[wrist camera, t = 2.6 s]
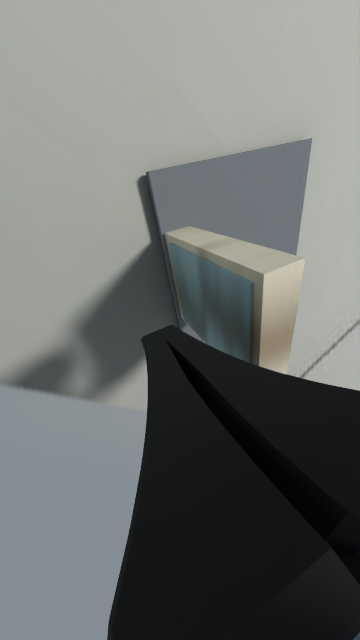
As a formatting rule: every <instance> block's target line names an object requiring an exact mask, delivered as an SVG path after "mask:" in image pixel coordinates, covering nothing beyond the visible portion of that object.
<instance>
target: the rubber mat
mask: <svg viewBox="0 0 360 640" xmlns="http://www.w3.org/2000/svg"><path fill="white" fill-rule="evenodd" d="M311 143H312V138H311V139H306V140H301V141H296V142H291V143H286V144H282V145H277V146H272V147H267V148H262V149H257V150H252V151H247V152H242V153H237V154H233V155H228V156H223V157H218V158H213V159H208V160H203V161H198V162H193V163H189V164H184V165H179V166H174V167H169V168H164V169H159V170H154V171H149V172H146V174H147V179H148V183H149V188H150V193H151V197H152V202H153V207H154V211H155V216H156V221H157V225H158V230H159V235H160V239H161V244H162V248H163V253H164V258H165V262H166V267H167V272H168V276H169V281H170V286H171V290H172V295H173V300H174V304H175V309H176V314H177V318H178V323H179V328H180V330H182V331H183V332H185V333H187V334H189V335H190V336H192V337H194V338H196V339H198V340H200V341H203V340H202V339H201V338H200V337H199V336H198V335H197V334H196V333H195V332H194V330H193V329H192V328H191V327H190V326H189V325H188V324H187V323H186V322H185V321H184V320H183V319H182V317H181V312H180V307H179V302H178V297H177V292H176V287H175V282H174V277H173V272H172V267H171V262H170V257H169V252H168V247H167V242H166V237H165V233H167V232H170V231H174V230H177V229H181V228H184V227H187V226H191V227H195V228H198V229H202V230H206V231H209V232H213V233H216V234H220V235H224V236H227V237H231V238H235V239H238V240H242V241H245V242H249V243H253V244H256V245H260V246H264V247H267V248H271V249H274V250H278V251H282V252H285V253H289V254H293V255H296V253H297V246H298V238H299V231H300V224H301V216H302V209H303V202H304V194H305V187H306V180H307V172H308V165H309V158H310V150H311Z"/></svg>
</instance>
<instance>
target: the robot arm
mask: <svg viewBox="0 0 360 640" xmlns="http://www.w3.org/2000/svg"><path fill="white" fill-rule="evenodd" d="M141 341H142V344H143V347H144V350H145V354H146V361H147V373H148V407H147V422H146V423H147V424H146V433H145V442H144V450H143V458H142V465H141V471H140V476H139V482H138V488H137V493H136V498H135V504H134V509H133V515H132V520H131V525H130V530H129V535H128V540H127V544H126V548H125V553H124V557H123V561H122V565H121V570H120V574H119V579H118V583H117V587H116V592H115V596H114V600H113V605H112V609H111V614H110V619H109V626H108V639H107V640H360V391H358V390H352V389H347V388H342V387H337V386H332V385H327V384H323V383H318V382H314V381H310V380H306V379H302V378H298V377H294V376H291V375H287V374H283V373H279V372H276V371H273V370H269V369H266V368H263V367H260V366H258V365H255V364H252V363H249V362H246V361H243V360H241V359H238V358H236V357H234V356H231V355H229V354H227V353H224V352H222V351H220V350H218V349H216V348H214V347H212V346H210V345H208V344H206V343H204V342H202V341H200V340H198V339H196V338H194V337H192V336H190V335H189V334H187V333H185V332H183V331H182V330H180V329H178V328H177V327H175V326H173V325H170V326H167V327H165V328H163V329H160V330H158V331H155V332H153V333H150V334H148V335H146V336H143V337H142V339H141Z"/></svg>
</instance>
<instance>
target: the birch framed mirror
mask: <svg viewBox="0 0 360 640" xmlns="http://www.w3.org/2000/svg"><path fill="white" fill-rule="evenodd" d="M165 237H166V242H167V247H168V252H169V257H170V262H171V267H172V272H173V277H174V282H175V287H176V292H177V297H178V302H179V307H180V312H181V317H182V319H183V320H184V321H185V322H186V323H187V324H188V325H189V326H190V327H191V328H192V329H193V330H194V332H195V333H196V334H197V335H198V336H199V337H200V338H201V339H202V340H203V341H204V342H205V343H206V344H208V345H210V346H212V347H214V348H216V349H218V350H220V351H222V352H224V353H227V354H229V355H231V356H234V357H236V358H238V359H241V360H243V361H246V362H249V363H252V364H255V365H258V366H260V367H263V368H266V369H269V370H273V371H276V372H279V373H283V374H287V368H288V362H289V356H290V350H291V344H292V338H293V331H294V325H295V319H296V313H297V307H298V301H299V294H300V288H301V282H302V276H303V270H304V263H305V258H303V257H300V256H296V255H293V254H289V253H285V252H282V251H278V250H274V249H271V248H267V247H264V246H260V245H256V244H253V243H249V242H245V241H242V240H238V239H235V238H231V237H227V236H224V235H220V234H216V233H213V232H209V231H206V230H202V229H198V228H195V227H191V226H187V227H184V228H181V229H177V230H174V231H170V232H167V233H165Z"/></svg>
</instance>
